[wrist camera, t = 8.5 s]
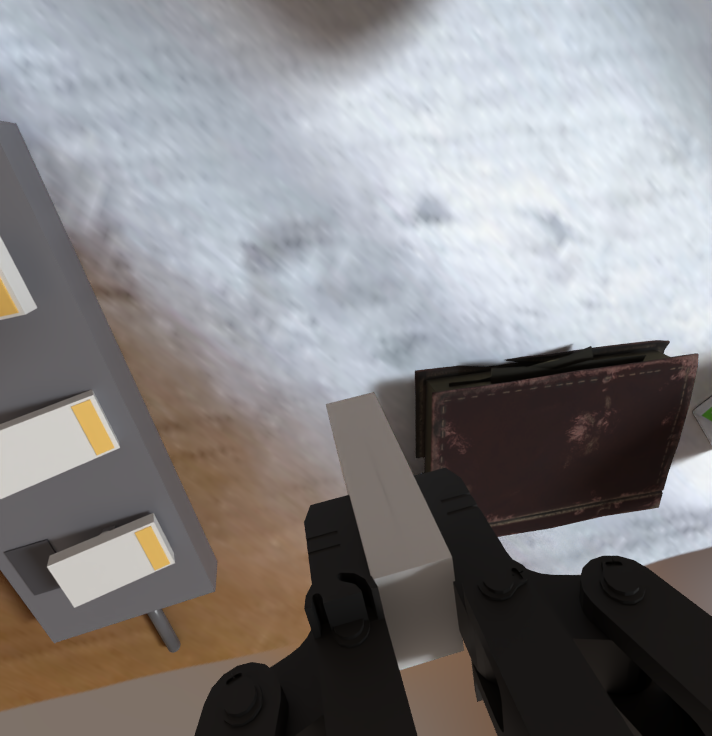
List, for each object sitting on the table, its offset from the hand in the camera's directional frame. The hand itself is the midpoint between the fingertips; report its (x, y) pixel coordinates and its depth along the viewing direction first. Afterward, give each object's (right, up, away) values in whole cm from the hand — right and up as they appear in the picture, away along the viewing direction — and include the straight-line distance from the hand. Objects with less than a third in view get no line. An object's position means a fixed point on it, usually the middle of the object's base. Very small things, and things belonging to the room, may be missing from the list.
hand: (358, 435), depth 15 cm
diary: (+18, -4, +34) cm, 38 cm away
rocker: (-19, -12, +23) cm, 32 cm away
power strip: (-23, -5, +24) cm, 34 cm away
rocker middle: (-21, -3, +18) cm, 28 cm away
